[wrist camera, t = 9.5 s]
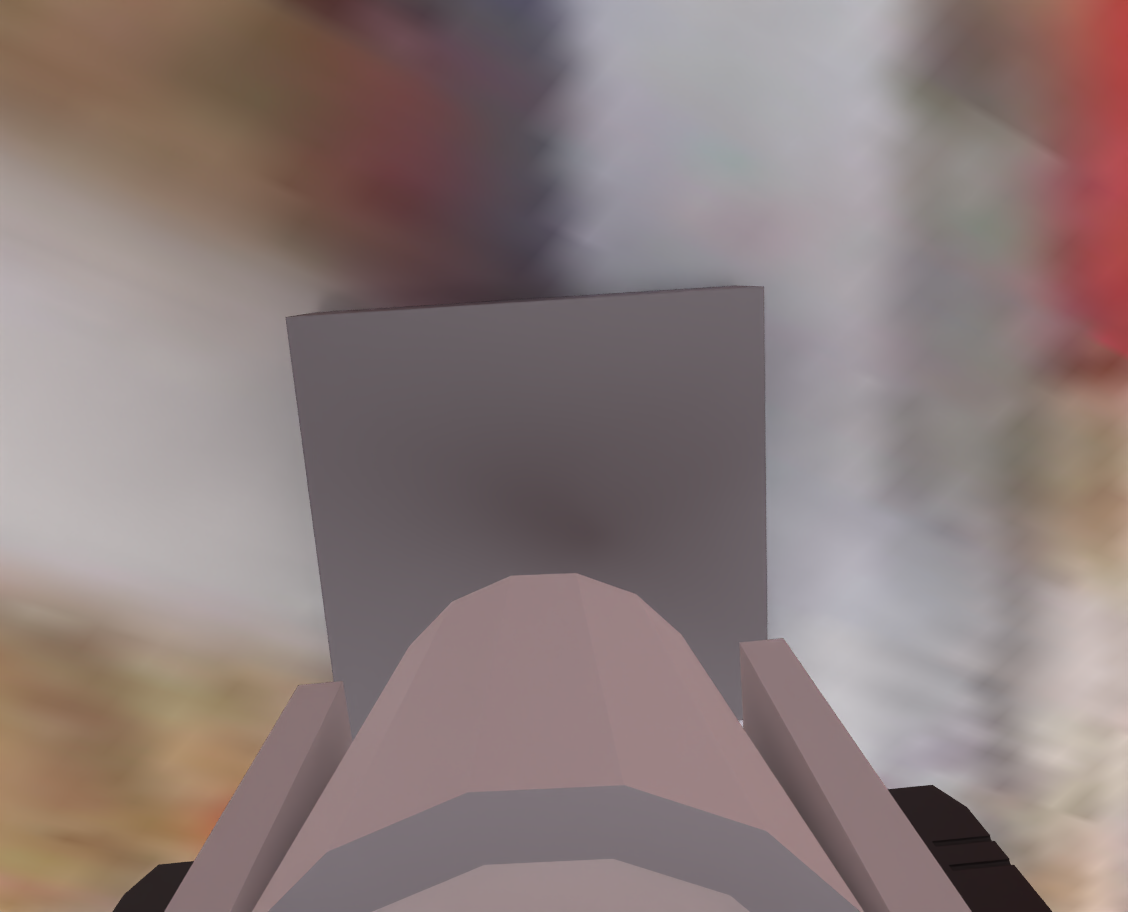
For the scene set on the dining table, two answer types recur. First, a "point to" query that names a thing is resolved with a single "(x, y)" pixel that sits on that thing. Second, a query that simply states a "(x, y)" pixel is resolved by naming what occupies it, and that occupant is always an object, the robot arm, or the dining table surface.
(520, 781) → the shot glass
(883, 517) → the dining table surface
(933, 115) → the dining table surface
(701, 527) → the block
